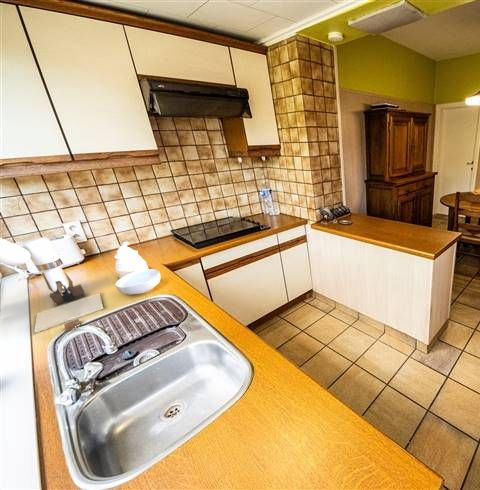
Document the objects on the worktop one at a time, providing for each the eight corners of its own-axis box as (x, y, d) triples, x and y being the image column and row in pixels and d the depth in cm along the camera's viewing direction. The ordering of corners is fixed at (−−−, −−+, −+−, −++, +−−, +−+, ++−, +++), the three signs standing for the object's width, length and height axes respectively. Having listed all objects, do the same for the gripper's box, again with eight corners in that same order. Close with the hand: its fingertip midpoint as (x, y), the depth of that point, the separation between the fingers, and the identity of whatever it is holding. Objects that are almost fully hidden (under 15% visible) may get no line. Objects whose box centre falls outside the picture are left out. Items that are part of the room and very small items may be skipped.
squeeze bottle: (48, 295, 129) (28, 262, 122) (69, 286, 136) (51, 255, 129) (59, 297, 127) (38, 264, 120) (79, 288, 134) (61, 256, 127)
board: (35, 333, 104) (34, 331, 103) (38, 315, 114) (37, 313, 114) (103, 308, 117) (102, 306, 116) (100, 294, 128) (99, 292, 127)
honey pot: (141, 266, 154) (128, 237, 147) (153, 270, 149) (141, 240, 142) (114, 276, 144) (99, 246, 137) (126, 281, 138) (111, 250, 131)
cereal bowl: (112, 297, 125) (106, 284, 122) (148, 279, 139) (143, 267, 137) (138, 302, 120) (131, 288, 117) (172, 283, 135) (167, 270, 132)
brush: (56, 306, 120) (49, 296, 118) (56, 303, 122) (49, 293, 120) (86, 296, 127) (80, 286, 124) (86, 293, 129) (80, 284, 126)
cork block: (67, 332, 103) (64, 328, 102) (66, 328, 106) (64, 324, 105) (81, 326, 106) (79, 322, 105) (80, 322, 108) (78, 318, 108)
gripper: (38, 262, 119) (59, 296, 127) (35, 274, 109) (59, 310, 116) (62, 256, 124) (81, 289, 132) (61, 267, 114) (82, 302, 121)
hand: (70, 298), depth 124 cm, fingers open, 3 cm apart
